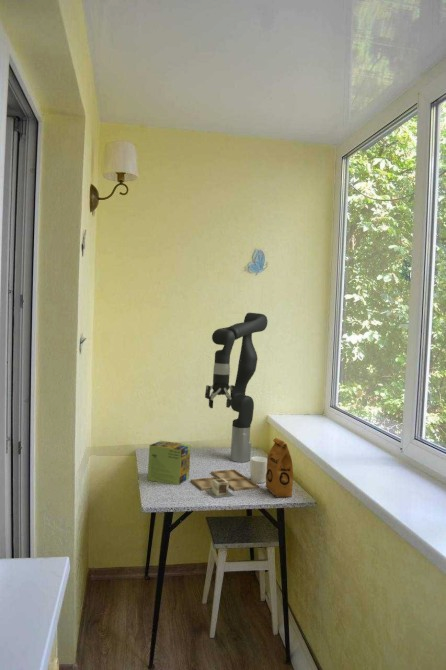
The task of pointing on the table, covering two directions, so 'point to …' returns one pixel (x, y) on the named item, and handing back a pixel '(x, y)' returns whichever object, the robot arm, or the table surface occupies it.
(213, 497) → the slate tile
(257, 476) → the white cup
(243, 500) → the table surface
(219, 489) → the letter cube
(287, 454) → the coffee package
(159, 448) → the protein box
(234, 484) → the tray
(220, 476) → the tray
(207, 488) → the tray
